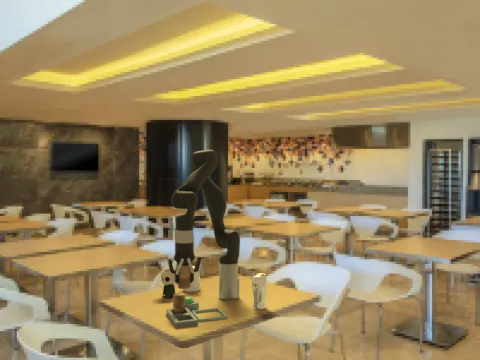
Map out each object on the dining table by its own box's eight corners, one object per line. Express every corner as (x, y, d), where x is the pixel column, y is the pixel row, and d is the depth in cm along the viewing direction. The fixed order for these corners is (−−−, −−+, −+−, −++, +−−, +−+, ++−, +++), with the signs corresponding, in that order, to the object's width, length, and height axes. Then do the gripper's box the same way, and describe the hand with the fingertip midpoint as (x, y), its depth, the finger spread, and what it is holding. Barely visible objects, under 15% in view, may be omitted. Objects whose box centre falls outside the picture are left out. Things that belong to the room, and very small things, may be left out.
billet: (191, 288, 184) (191, 265, 183) (179, 289, 182) (179, 266, 182) (188, 285, 188) (188, 263, 188) (176, 286, 186) (176, 264, 186)
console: (193, 307, 209) (193, 298, 209) (198, 312, 202) (198, 303, 202) (176, 308, 207) (176, 300, 206) (181, 314, 199) (181, 305, 199)
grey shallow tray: (166, 316, 196) (166, 309, 196) (186, 313, 200) (186, 307, 199) (176, 330, 180) (176, 322, 179) (198, 327, 183) (198, 319, 183)
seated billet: (183, 313, 197) (183, 292, 197) (186, 317, 192) (186, 295, 192) (172, 314, 195) (172, 293, 195) (174, 318, 190) (174, 296, 190)
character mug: (156, 296, 227) (156, 270, 226) (166, 292, 233) (166, 267, 232) (171, 300, 220) (171, 273, 220) (182, 296, 226) (182, 270, 226)
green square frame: (218, 312, 202) (218, 307, 202) (227, 320, 191) (227, 315, 191) (191, 315, 198) (191, 310, 198) (199, 324, 187) (199, 319, 186)
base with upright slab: (203, 289, 240) (203, 266, 240) (191, 292, 234) (191, 269, 233) (192, 286, 246) (192, 264, 246) (179, 289, 239) (179, 266, 239)
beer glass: (251, 305, 212) (251, 273, 212) (266, 305, 213) (266, 273, 213) (252, 309, 205) (253, 276, 205) (268, 309, 206) (268, 276, 206)
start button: (191, 307, 207) (191, 296, 207) (193, 310, 203) (193, 299, 203) (181, 308, 206) (181, 297, 205) (184, 311, 201) (184, 300, 201)
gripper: (199, 238, 191) (198, 279, 191) (164, 240, 185) (164, 282, 186) (204, 241, 184) (203, 283, 184) (168, 243, 178) (168, 286, 179)
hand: (184, 282), depth 185 cm, fingers closed on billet, 5 cm apart
